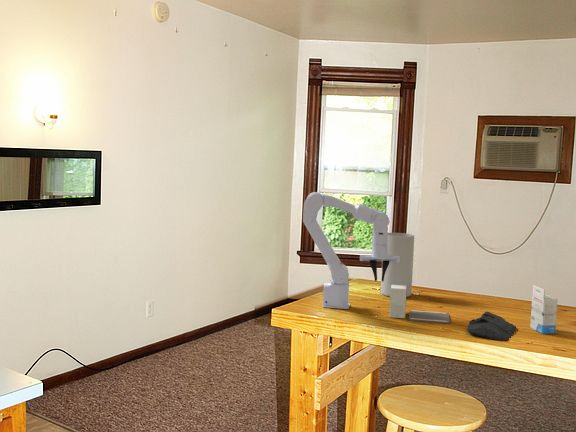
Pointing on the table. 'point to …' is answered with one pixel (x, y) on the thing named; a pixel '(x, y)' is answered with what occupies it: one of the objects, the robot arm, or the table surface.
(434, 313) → the mat
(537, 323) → the ink box
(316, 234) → the robot arm
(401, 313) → the small box
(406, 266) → the cylinder vase
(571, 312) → the table surface
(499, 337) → the crumpled dark cloth
